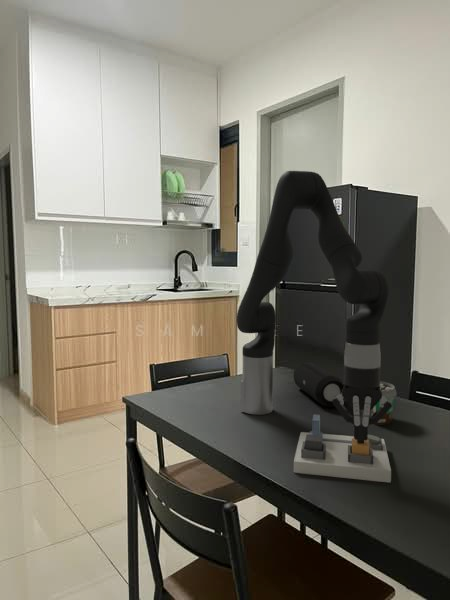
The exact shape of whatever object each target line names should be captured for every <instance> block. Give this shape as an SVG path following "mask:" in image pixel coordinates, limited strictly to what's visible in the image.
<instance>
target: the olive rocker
mask: <svg viewBox="0 0 450 600" xmlns="http://www.w3.org/2000/svg"><path fill="white" fill-rule="evenodd" d="M379 439H380V438H379V436H376V435H373V434H369V433H368V438H367V440H369V444H373V445H379Z"/></svg>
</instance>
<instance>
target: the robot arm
mask: <svg viewBox="0 0 450 600" xmlns="http://www.w3.org/2000/svg"><path fill="white" fill-rule="evenodd" d="M294 210H310V211H311V212H312V213H313V214H314V215H315V216H316V218H317V220H318V236H317V237H318V238H317V239H318V243H319V248H320V249H321V252H322V253H323V255H324V257H325V259H326V261H327V262H328V263H329V265H330V267H331V269H332V273H333V277H334V281H335V286H336V289H337V292H338V294H339V296H340V297H341V298H342V300H344V301H345V302H346V303H347V304H351V305H359V309H358V311H357V312H356V313H354V314H352V315H350V316H348V318H347V319H346V321H345V322H346V323H345V346H344V347H345V348H344V351H343V354H344V355H343V356H344V357H343V361H344V362H343V363H344V364H343V384H344V387H343V389H342V391H341V394H339V395H338V396H334V397H333V399H332V403H333V404H334V407H335V408H336V410H337V411H338V412H339V413H340V415H341V417H343V419H344V420H345V422H347V423H349V424H353V436H354V438H355V440H357V442H359V443H364V440H367V438H368V434H369V432H368V431H369V430H368V429H369V426H371V425H374V426H376V425H375V424H376V423H377V422H378V421H379V420H380V419H381V418H382V417H383V416H384V415H385V414H386V413H387V411H388V410H389V409H390V408H391V407H392V404H391V402H390V400H387V399H386V398H384V397H383V396H382V392H381V390H380V381H381V361H382V358H381V345H380V341H381V340H380V339H381V337H380V336H381V322H382V319H383V316H384V313H385V310H386V306H387V302H388V298H389V294H390V293H389V291H390V289H389V282H388V280H387V278H386V276H385V274H384V273H382V272H381V271H379V270H359V269H358V267H359V266H360V265H361V263H362V261H363V256H362V252H361V251H360V249H359V247H358V246H357V244H356V243H355V241H354V240H353V238H352V237H351V235H350V234H349V232H348V231H347V229H346V228H345V226H344V224H343V222H342V219H341V217H340V215H339V213H338V210H337V208H336V205H335V203H334V200H333V197H332V196H331V194H330V191H329V188H328V187H327V184H326V183H325V181H324V179H323V177H322V176H321V175H320V174H319V173H317V172H315V171H308V170H307V171H305V170H287V171H284V172H283V173H282V174H281V176H280V177H279V179H278V181H277V183H276V187H275V190H274V194H273V200H272V205H271V210H270V215H269V218H268V222H267V227H266V229H265V233H264V236H263V239H262V243H261V245H260V248H259V251H258V254H257V257H256V260H255V264H254V267H253V272H252V274H251V277H250V280H249V283H248V286H247V288H246V291H245V292H244V295H243V297H242V300H241V302H240V304H239V306H238V310H237V314H236V327H237V328H238V330H239V331H240V332H241V333H244V334H257V335H256V337H255V338H253V340H251V341H249V342H248V343H246V344H244V345H243V346H242V379H241V381H240V412H241V413H246V414H249V415H259V416H261V415H268V414H270V413H272V412H273V410H274V409H273V406H274V404H273V403H274V402H273V399H274V398H273V394H274V392H273V391H274V386H273V385H274V384H273V383H274V381H273V380H274V374H273V373H274V347H275V343H276V342H275V341H276V327H277V326H276V325H277V323H276V322H277V318H276V316H277V315H276V309H275V307H274V305H273V304H272V303H271V302H269V301H263V300H264V299H265V298H266V297H267V295H269V293H270V292H272V291H273V290H274V289H275V288H276V287H277V286H279V284H280V283H281V282H282V281H283V280H284V279H285V278H286V276H287V274H288V273H289V270H290V266H291V264H292V261H293V258H294V254H295V253H294V247H293V242H292V239H291V236H290V232H289V223H290V220H291V217H292V214H293V212H294ZM343 398H344V400H345V401H344V400H343ZM379 400H380V403H379V406H380V407H379V408H378V409H377V410H376V412H375V413H374V414H373V415H372V414H371V415H370V413H371V412H370V411H372V409H373V408H374V406H375V405H376V404H377V403H378V402H379ZM344 402H346V403H347V404H348V406H349V407H350V408H351V409H352V410H353V415H352V414H351V413H350V411H348V409H347V408H346V407H345V405H344V404H345V403H344ZM361 410H362V415H361V414H360V411H361ZM360 415H361V416H362V419H361V417H360Z"/></svg>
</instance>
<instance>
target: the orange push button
mask: <svg viewBox="0 0 450 600" xmlns="http://www.w3.org/2000/svg"><path fill="white" fill-rule="evenodd" d="M352 454H359V455H369V440H364V443H359V442H357V440H355V438H352Z"/></svg>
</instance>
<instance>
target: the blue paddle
mask: <svg viewBox="0 0 450 600" xmlns="http://www.w3.org/2000/svg"><path fill="white" fill-rule="evenodd" d="M311 422H312V423H311V425H312V427H311V428H312V429H311V430H310V431H309V433H310V435H320V436H323V434H324V433H323V431H321V415H320V414H313V415H312V420H311Z"/></svg>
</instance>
